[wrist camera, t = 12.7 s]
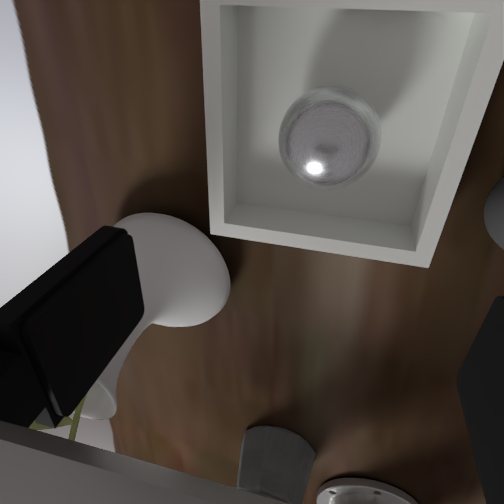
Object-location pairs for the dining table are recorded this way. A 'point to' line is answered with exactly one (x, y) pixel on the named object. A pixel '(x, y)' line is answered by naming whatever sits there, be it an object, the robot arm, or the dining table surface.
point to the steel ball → (329, 137)
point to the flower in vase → (160, 295)
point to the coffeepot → (275, 464)
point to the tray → (367, 83)
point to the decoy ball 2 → (495, 213)
